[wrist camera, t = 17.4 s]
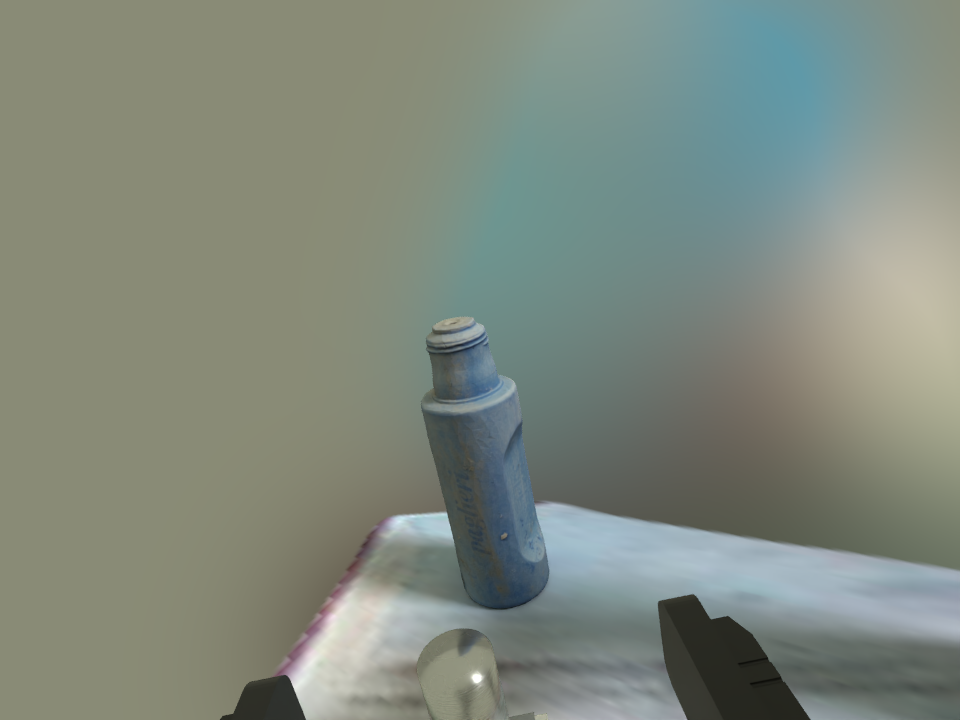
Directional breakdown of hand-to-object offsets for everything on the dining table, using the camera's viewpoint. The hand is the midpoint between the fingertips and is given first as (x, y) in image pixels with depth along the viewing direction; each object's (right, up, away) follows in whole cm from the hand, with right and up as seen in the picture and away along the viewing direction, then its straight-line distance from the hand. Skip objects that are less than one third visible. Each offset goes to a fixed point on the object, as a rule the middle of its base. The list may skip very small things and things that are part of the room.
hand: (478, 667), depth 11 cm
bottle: (+3, -18, +48) cm, 52 cm away
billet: (+1, -24, +26) cm, 36 cm away
